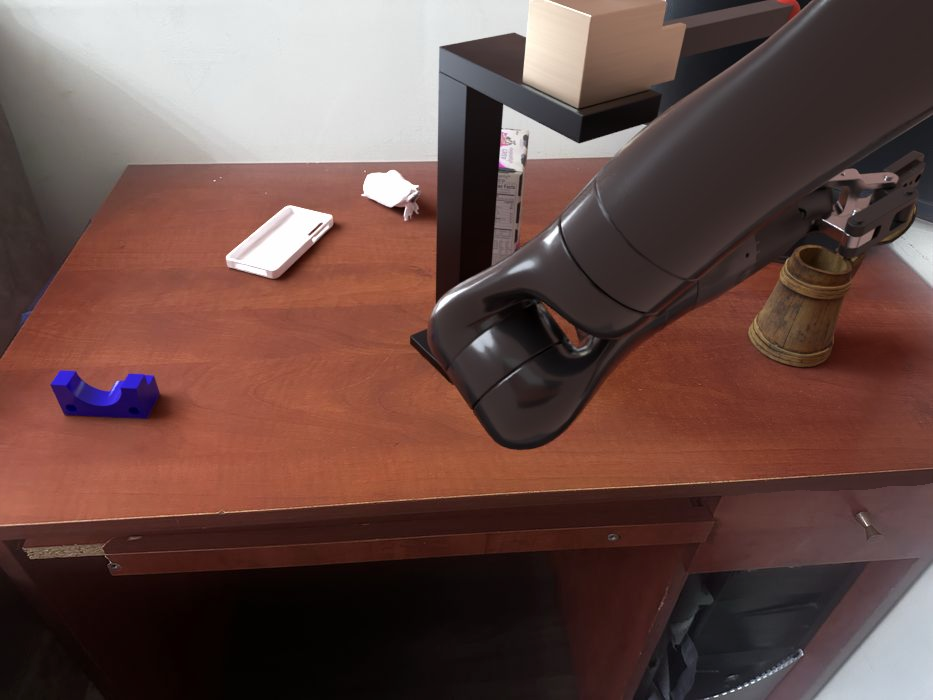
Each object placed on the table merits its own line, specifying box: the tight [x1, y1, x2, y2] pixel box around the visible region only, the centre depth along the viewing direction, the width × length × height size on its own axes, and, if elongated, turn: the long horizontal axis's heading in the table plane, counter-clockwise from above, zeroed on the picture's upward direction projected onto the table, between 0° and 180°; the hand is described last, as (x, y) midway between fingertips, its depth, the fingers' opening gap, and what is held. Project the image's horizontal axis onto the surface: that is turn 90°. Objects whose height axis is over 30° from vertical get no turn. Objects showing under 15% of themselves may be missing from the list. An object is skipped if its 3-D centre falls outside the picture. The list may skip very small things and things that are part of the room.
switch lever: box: [663, 0, 802, 59], centre depth 58 cm, size 20×3×3 cm, turn 127°
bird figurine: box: [360, 169, 422, 222], centre depth 101 cm, size 5×7×10 cm
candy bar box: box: [492, 127, 530, 266], centre depth 86 cm, size 11×5×16 cm, turn 173°
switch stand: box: [409, 0, 686, 385], centre depth 64 cm, size 13×19×38 cm
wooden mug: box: [747, 193, 919, 368], centre depth 76 cm, size 9×14×18 cm, turn 113°
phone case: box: [225, 205, 334, 280], centre depth 93 cm, size 7×1×15 cm
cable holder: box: [50, 369, 161, 420], centre depth 68 cm, size 8×4×4 cm, turn 89°
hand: (859, 142), depth 52 cm, fingers open, 8 cm apart
